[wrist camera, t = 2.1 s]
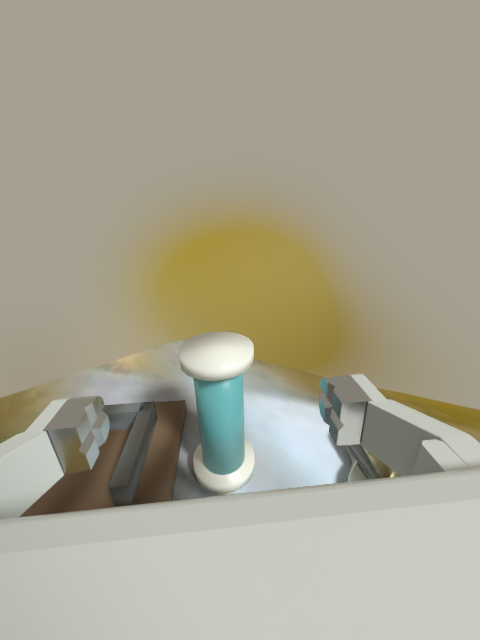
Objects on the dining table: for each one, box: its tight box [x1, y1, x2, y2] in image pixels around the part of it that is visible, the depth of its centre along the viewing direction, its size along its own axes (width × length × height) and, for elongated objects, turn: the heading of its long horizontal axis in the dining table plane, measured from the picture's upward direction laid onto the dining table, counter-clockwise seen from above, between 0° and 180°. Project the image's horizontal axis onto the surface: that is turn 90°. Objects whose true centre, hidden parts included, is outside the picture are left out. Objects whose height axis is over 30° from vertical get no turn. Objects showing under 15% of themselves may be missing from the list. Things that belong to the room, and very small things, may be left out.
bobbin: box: [179, 332, 255, 494], centre depth 25 cm, size 6×6×14 cm
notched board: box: [20, 400, 186, 517], centre depth 26 cm, size 18×18×4 cm
